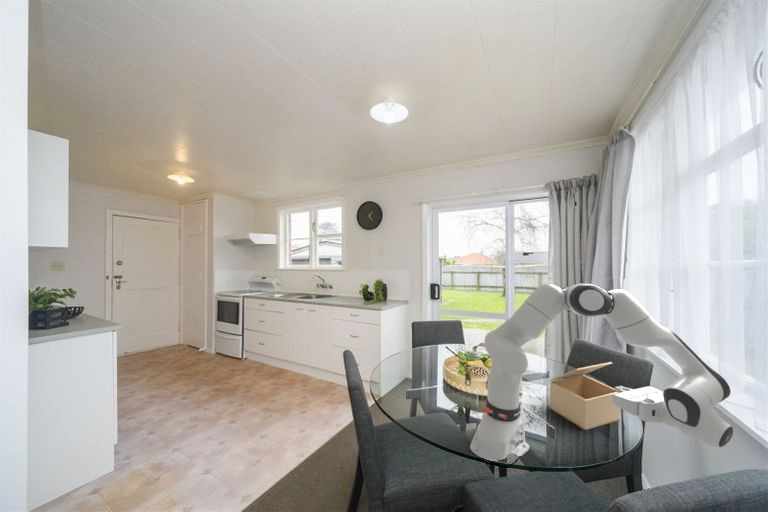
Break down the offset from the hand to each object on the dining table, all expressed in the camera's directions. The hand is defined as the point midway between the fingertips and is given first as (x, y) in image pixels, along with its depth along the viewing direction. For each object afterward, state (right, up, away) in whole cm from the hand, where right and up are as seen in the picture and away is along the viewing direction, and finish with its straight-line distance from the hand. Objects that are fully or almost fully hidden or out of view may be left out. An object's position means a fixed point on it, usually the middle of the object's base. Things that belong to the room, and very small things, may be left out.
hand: (617, 388), depth 112 cm
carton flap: (-5, 0, +14) cm, 15 cm away
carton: (-4, -17, +13) cm, 22 cm away
